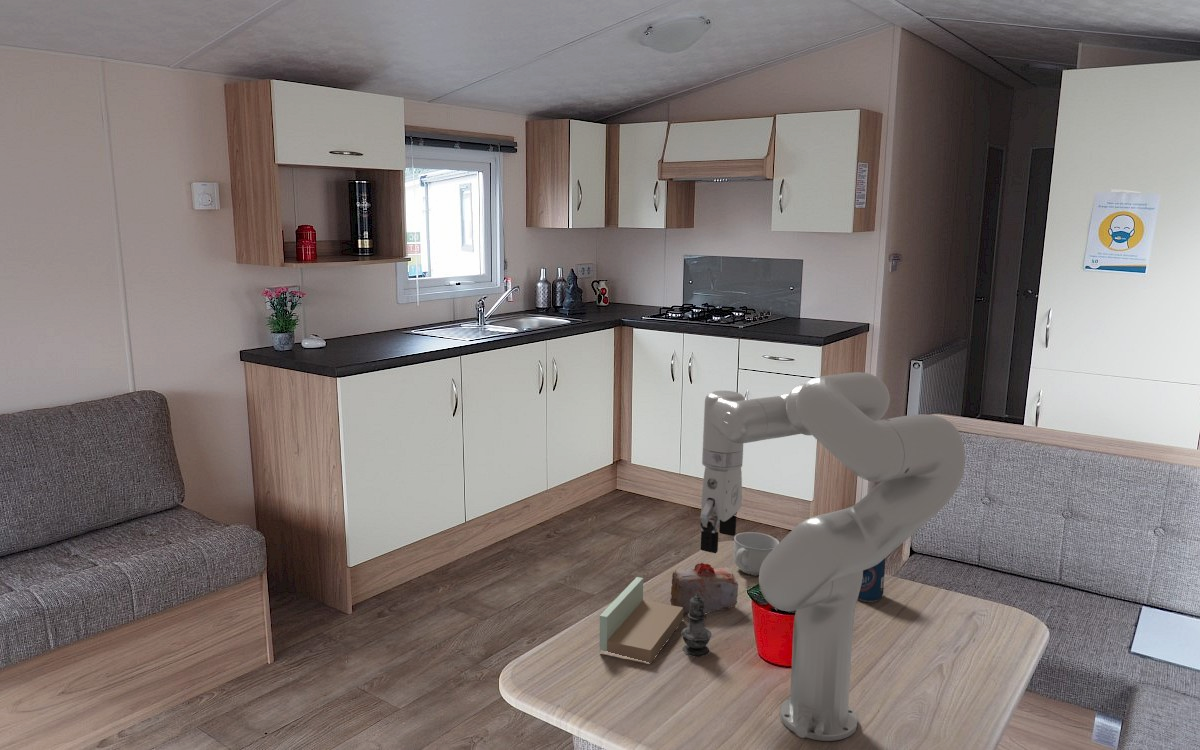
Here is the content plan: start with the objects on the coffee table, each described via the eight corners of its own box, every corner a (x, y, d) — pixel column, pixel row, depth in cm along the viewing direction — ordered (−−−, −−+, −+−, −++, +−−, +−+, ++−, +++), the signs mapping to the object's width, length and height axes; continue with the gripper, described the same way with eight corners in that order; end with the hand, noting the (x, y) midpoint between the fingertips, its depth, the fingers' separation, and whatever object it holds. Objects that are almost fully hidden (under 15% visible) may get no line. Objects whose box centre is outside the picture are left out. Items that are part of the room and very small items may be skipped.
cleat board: (650, 664, 163) (651, 625, 161) (599, 653, 167) (599, 615, 166) (682, 620, 181) (683, 585, 180) (636, 611, 185) (636, 576, 184)
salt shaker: (687, 659, 165) (688, 600, 163) (676, 645, 171) (677, 588, 168) (715, 655, 167) (717, 597, 164) (704, 641, 172) (705, 585, 170)
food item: (726, 597, 193) (728, 555, 191) (739, 612, 185) (741, 569, 183) (668, 602, 190) (669, 560, 188) (678, 618, 182) (679, 574, 180)
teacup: (752, 558, 215) (753, 528, 213) (787, 572, 206) (789, 540, 205) (714, 572, 206) (715, 541, 204) (749, 587, 198) (751, 554, 196)
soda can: (846, 597, 192) (848, 546, 190) (857, 587, 198) (860, 538, 196) (876, 606, 188) (879, 554, 186) (887, 595, 194) (890, 544, 192)
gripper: (725, 472, 152) (720, 562, 155) (756, 448, 167) (751, 531, 170) (686, 465, 156) (682, 554, 159) (720, 443, 170) (716, 524, 174)
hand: (718, 542), depth 165 cm, fingers open, 9 cm apart
